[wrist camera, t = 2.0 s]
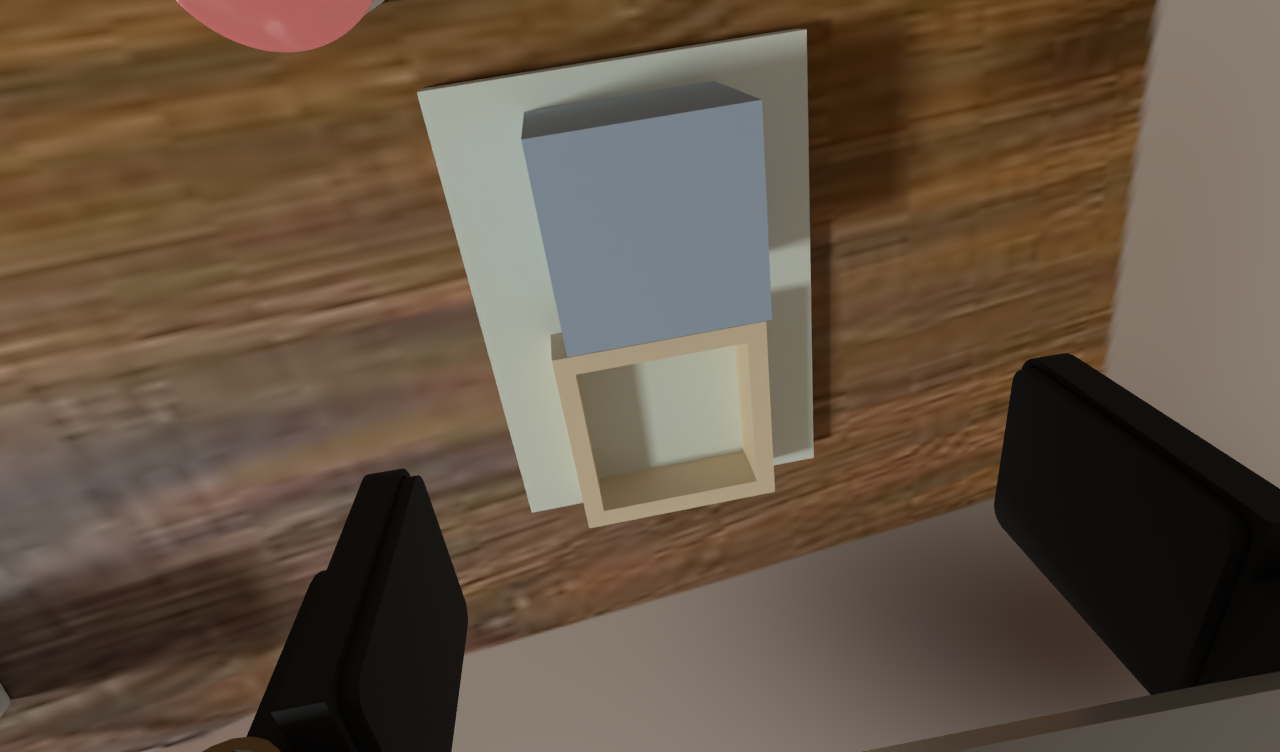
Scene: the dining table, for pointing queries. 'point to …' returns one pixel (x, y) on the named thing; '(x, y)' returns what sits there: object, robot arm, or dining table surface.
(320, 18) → the cup
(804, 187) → the board
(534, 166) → the blue-gray block
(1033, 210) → the dining table surface
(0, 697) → the syrup box
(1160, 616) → the robot arm
